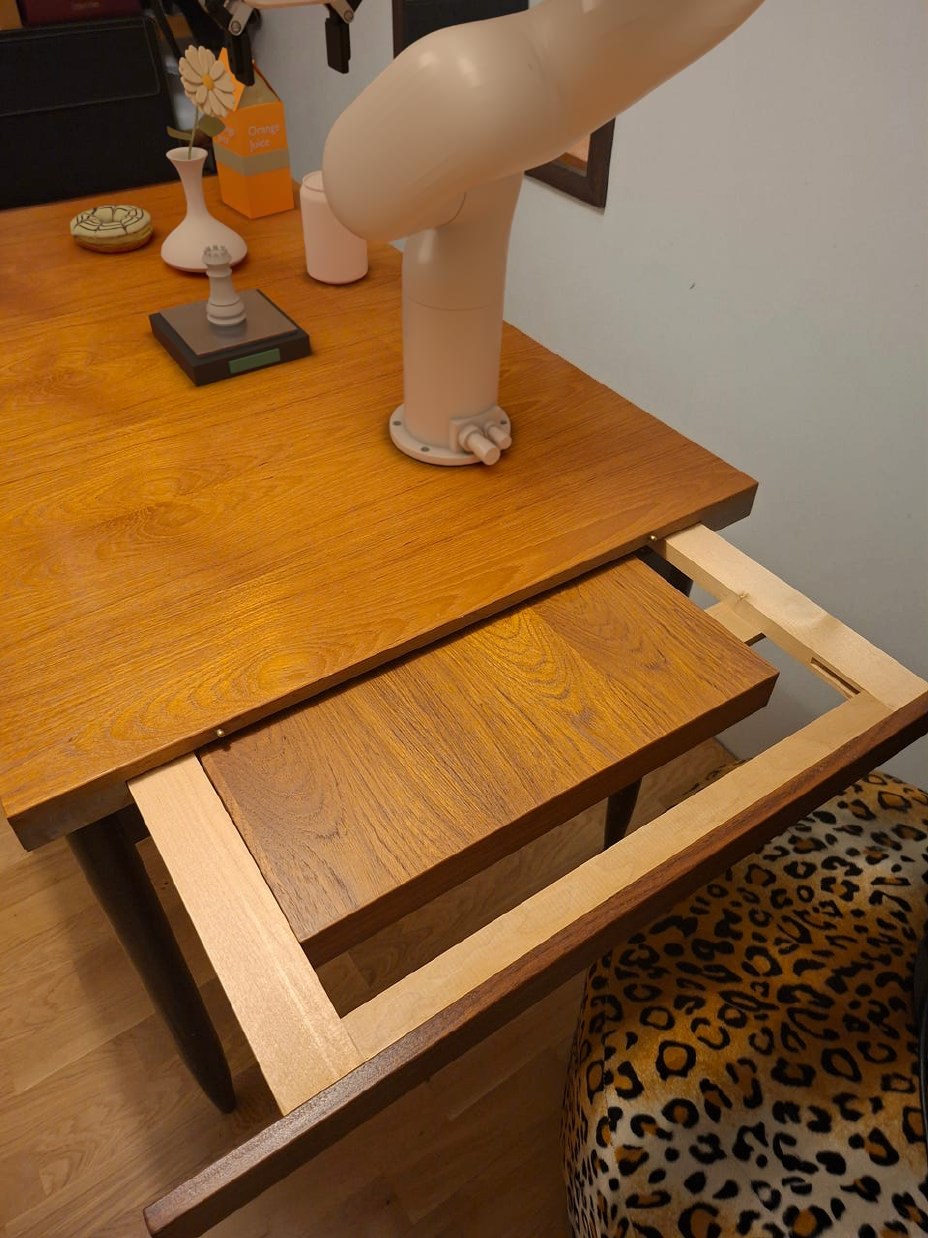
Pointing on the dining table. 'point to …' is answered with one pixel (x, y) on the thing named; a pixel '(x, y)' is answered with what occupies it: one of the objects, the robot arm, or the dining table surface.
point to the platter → (215, 339)
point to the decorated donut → (112, 228)
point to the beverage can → (328, 238)
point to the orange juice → (254, 150)
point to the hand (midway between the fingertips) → (292, 76)
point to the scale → (232, 352)
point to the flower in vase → (200, 165)
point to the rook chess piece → (222, 289)
